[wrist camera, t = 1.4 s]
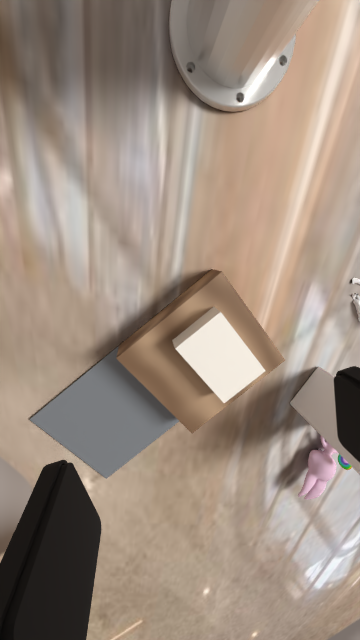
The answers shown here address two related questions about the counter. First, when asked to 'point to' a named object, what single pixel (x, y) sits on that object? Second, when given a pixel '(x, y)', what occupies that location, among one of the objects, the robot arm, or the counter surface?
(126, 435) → the rubber mat
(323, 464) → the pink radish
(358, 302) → the white irregular piece
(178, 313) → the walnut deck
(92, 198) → the counter surface
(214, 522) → the counter surface
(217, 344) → the cream rectangular block
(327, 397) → the milk carton
